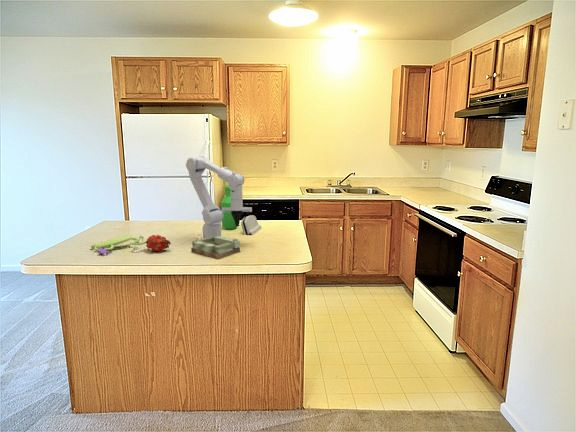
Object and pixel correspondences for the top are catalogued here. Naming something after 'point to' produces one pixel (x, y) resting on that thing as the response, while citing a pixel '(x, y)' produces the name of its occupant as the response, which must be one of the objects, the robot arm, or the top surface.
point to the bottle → (228, 219)
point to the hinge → (250, 225)
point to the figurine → (116, 243)
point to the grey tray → (213, 248)
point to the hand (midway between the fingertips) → (237, 226)
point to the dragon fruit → (157, 243)
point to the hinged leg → (227, 241)
